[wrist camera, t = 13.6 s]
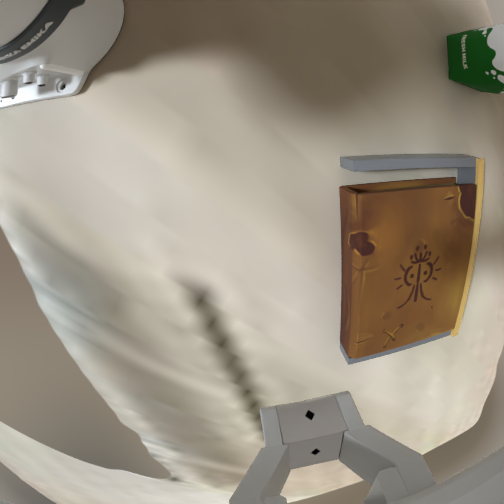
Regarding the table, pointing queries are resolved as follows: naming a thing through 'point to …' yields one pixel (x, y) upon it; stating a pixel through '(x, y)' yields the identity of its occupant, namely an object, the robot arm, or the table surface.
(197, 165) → the table surface
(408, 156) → the bay
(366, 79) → the table surface
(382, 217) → the diary
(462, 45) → the milk carton
